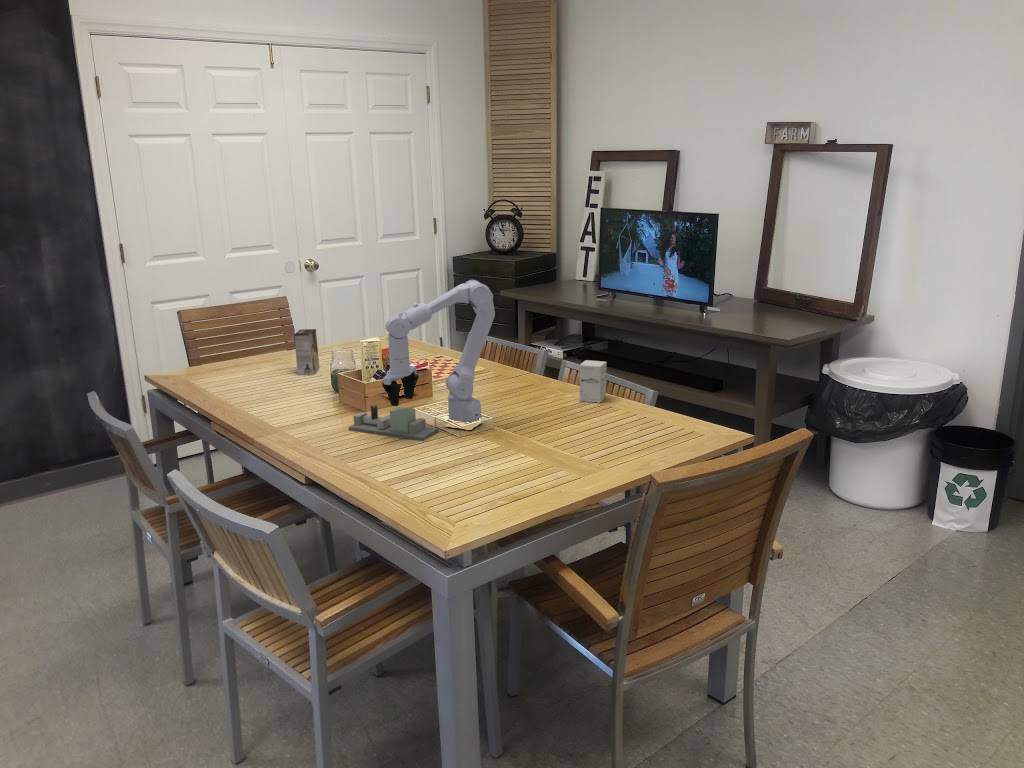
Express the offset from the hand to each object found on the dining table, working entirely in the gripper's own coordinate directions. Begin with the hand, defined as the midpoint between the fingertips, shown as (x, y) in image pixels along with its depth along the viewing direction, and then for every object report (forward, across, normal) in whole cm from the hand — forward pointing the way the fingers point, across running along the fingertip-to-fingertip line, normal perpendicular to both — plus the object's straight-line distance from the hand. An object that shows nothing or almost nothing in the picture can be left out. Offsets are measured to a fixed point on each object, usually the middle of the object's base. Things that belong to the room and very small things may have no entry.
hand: (402, 402), depth 241 cm
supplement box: (+10, -52, +40) cm, 67 cm away
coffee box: (+10, -46, -74) cm, 88 cm away
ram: (+8, 0, -10) cm, 13 cm away
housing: (+8, 0, 0) cm, 8 cm away
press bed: (+9, 0, -3) cm, 10 cm away
